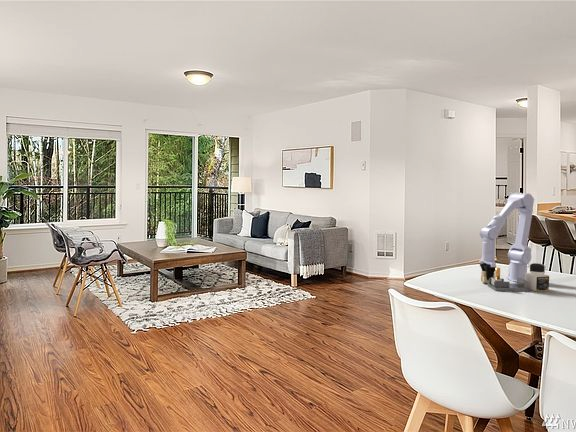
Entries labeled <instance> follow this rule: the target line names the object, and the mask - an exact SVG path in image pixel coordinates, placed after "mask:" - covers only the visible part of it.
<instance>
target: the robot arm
mask: <svg viewBox="0 0 576 432" xmlns="http://www.w3.org/2000/svg"><path fill="white" fill-rule="evenodd" d="M534 203H535V198H534V196H533V195H532V193H529V192H528V193H517V192H516V193H515V192H513V193H511V194H510V195H509V197H508V198H507V202H506V203H505V205H504V207H503V208H502V210H501V211H500V213H499V214H498V215H495V216H493V217H492V219H491V220H490V222H488V224H487V225H486V226H485V227H482V228H481V230H480V232H479V236H480V238H481V242H482V243H481V245H482V248H481V249H482V250H481V257H480V259H479V266H480V268H481V271H486V278H487V280H489V278H491V277H493V275H494V273H495V269H496V268H498V266H497V264H496V263H497V262H496V260H495V258H496V240H497V238H498V237H499V234H500V230H501V229H502V228H503V226H504V225H506V219H507V218H508V217H509V215H511V213H512V212H513V211H514V210H515V209H516V210H518V212H519V216H518V217H519V218H518V224H517V230H516V234H515V242H514V243H513V244H511V245H510V246H509V247H510V248H509V250H508V252H507V258H508V261H509V262H510V263H509V264H508V270H507V272H508V273H507V276H506V279H508V280H510V281H511V282H513V283H514V282H516V283H517V278H522V279H524V280H525V274H526V273H528V265H529V263H530V262H531V260H532V249H531V248H530V247H529V245H528V240H529V235H530V230H531V224H532V218H533V213H534V212H533V211H534Z"/></svg>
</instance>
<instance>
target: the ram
mask: <svg viewBox="0 0 576 432" xmlns="http://www.w3.org/2000/svg"><path fill="white" fill-rule="evenodd" d="M494 273H495V277H491V284H492V285H494V281H502V279H503V278H501V267H497V268H496V269H495V272H494Z"/></svg>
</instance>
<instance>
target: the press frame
mask: <svg viewBox="0 0 576 432" xmlns="http://www.w3.org/2000/svg"><path fill="white" fill-rule="evenodd" d="M501 279H502V281H494V285H492V284H491V278H489V283H487V287H488V288H490V289H492V290H494V291H495V292H522V293H523V292H525V293H526V292H529V291H530V290H529V288H528V281H526V280H524V279H522V278H517V282H516V283H514V282H513V283H512V282H510V281H505V279H504V278H501Z"/></svg>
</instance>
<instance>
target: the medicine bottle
mask: <svg viewBox="0 0 576 432" xmlns="http://www.w3.org/2000/svg"><path fill="white" fill-rule="evenodd" d="M545 272H546V265H545V264H542V263H534V262H533V263H530V264H529V272H527V273H526V274H525V280H526V281H528V288H529V291H533V292H535V293H536V292H547V291H549V289H550V275H548V274H546V273H545Z"/></svg>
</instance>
